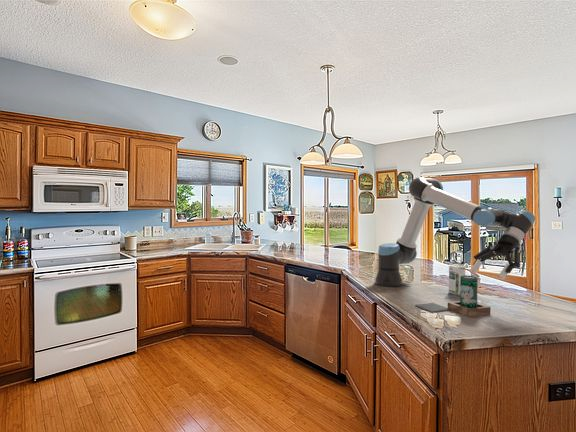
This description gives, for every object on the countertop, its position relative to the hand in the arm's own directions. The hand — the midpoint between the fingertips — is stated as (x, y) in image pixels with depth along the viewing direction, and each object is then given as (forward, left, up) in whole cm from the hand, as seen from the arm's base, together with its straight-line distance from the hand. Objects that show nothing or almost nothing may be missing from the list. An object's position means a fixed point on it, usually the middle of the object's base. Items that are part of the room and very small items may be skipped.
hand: (486, 274), depth 143 cm
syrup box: (-25, +11, -16) cm, 32 cm away
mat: (-9, -20, -15) cm, 27 cm away
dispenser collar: (0, -9, -15) cm, 18 cm away
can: (0, -9, -16) cm, 18 cm away
